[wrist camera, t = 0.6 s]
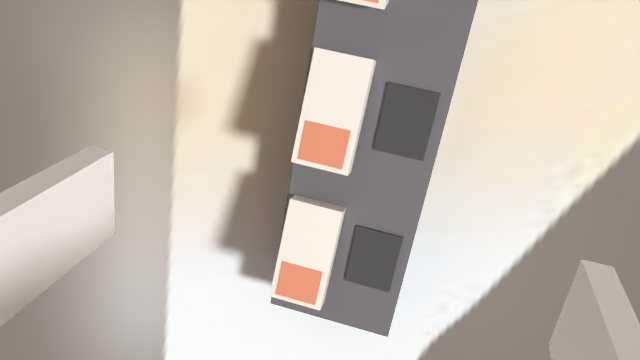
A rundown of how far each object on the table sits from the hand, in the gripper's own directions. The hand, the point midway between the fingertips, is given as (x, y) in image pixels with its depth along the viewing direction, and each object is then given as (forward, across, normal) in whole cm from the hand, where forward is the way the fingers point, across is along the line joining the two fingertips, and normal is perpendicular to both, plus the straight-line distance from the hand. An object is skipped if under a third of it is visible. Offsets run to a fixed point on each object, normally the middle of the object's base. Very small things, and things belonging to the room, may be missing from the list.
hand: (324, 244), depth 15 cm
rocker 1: (+19, -4, -2) cm, 19 cm away
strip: (+25, -1, +2) cm, 25 cm away
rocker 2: (+19, -4, -12) cm, 23 cm away
